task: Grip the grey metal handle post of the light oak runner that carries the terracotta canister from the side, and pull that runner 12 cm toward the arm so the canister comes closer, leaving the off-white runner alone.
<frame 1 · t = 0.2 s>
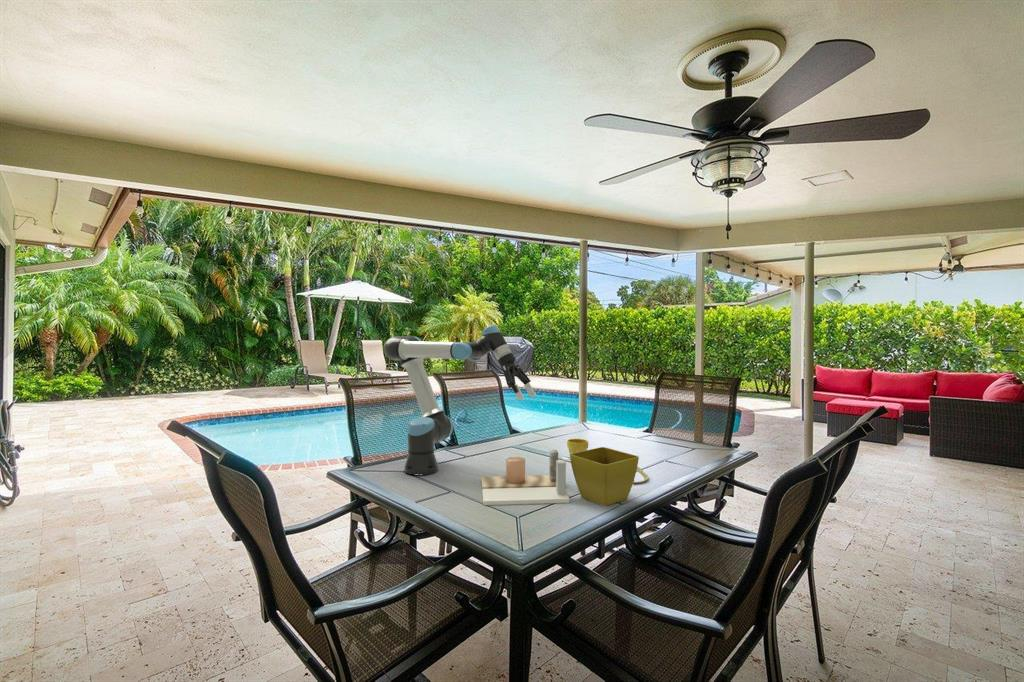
hand: (527, 397, 216), 35 cm above the table, tool tilted 35°, fingers open, 13 cm apart
white runner: (524, 480, 188), point 7 cm above the table, slide at 0.0 cm
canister: (515, 481, 204), point 2 cm above the table, touching oak runner
oak runner: (520, 468, 204), point 7 cm above the table, slide at 0.0 cm, touching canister
flower pot: (603, 499, 188), on the table
mug handle: (620, 474, 222), on the table
plant pot: (577, 460, 242), on the table
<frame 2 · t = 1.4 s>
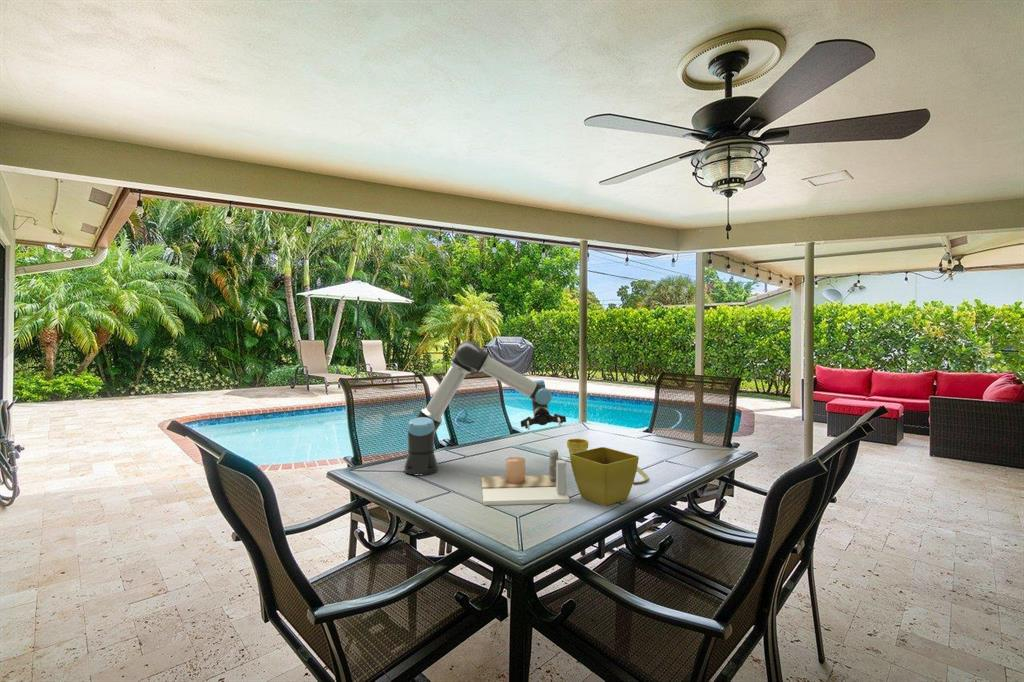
hand: (544, 425, 212), 23 cm above the table, tool horizontal, fingers open, 13 cm apart
nothing on the table moved.
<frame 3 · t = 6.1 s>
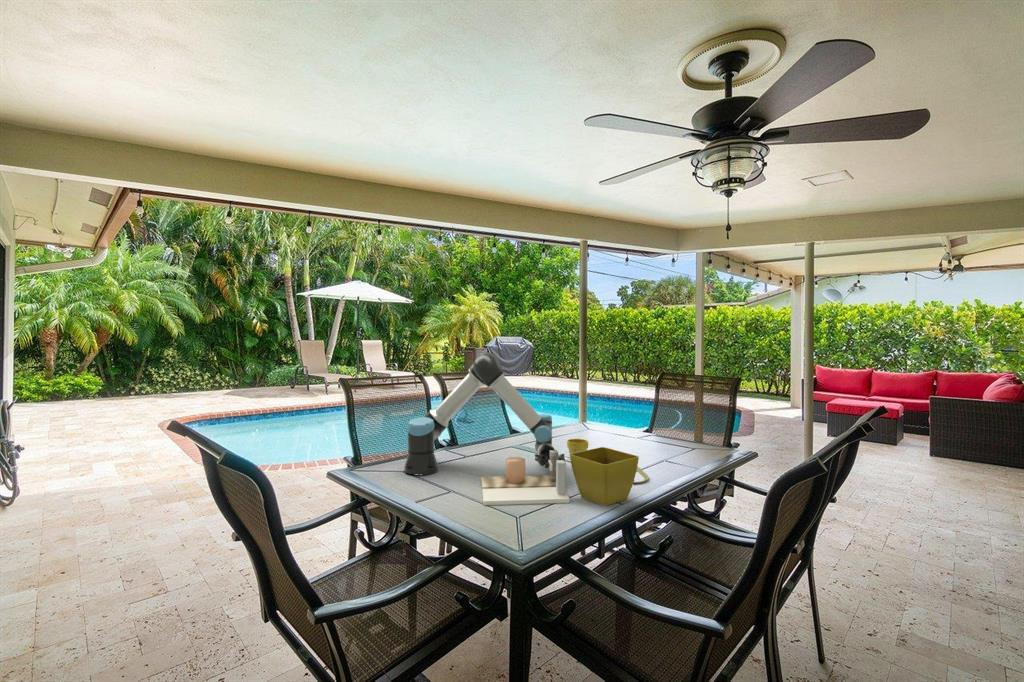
hand: (556, 467, 199), 8 cm above the table, tool horizontal, fingers closed on oak runner, 3 cm apart
oak runner: (520, 468, 204), point 7 cm above the table, slide at 0.0 cm, touching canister, gripper
everything else where it was.
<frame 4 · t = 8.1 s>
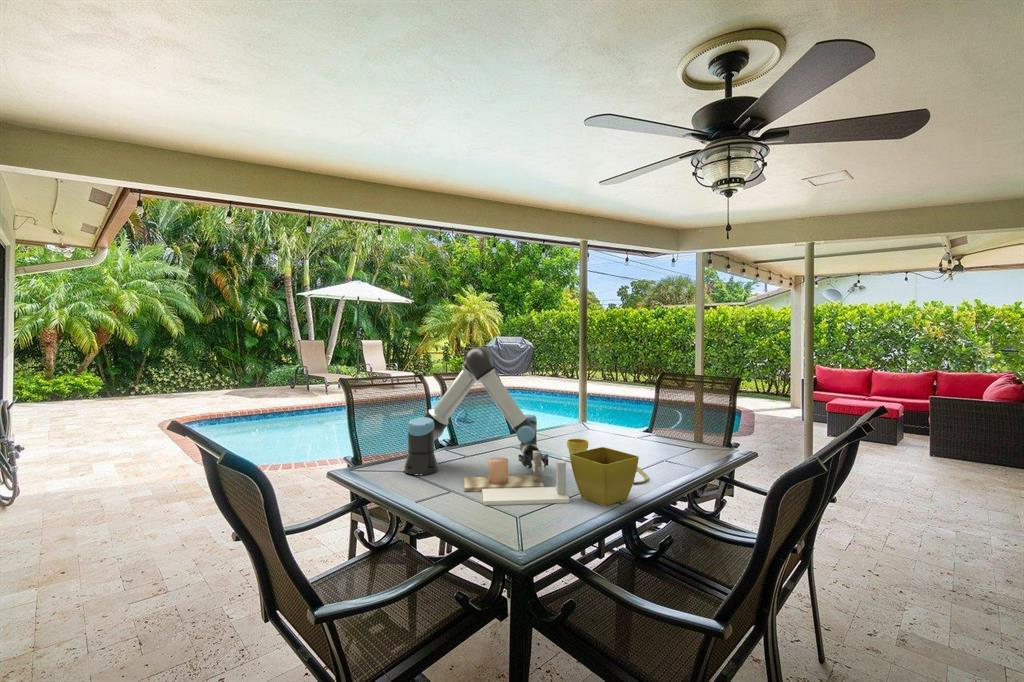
hand: (538, 467, 199), 8 cm above the table, tool horizontal, fingers closed on oak runner, 3 cm apart
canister: (498, 481, 203), point 2 cm above the table, touching oak runner
oak runner: (503, 468, 203), point 7 cm above the table, slide at 7.1 cm, touching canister, gripper
everything else where it was.
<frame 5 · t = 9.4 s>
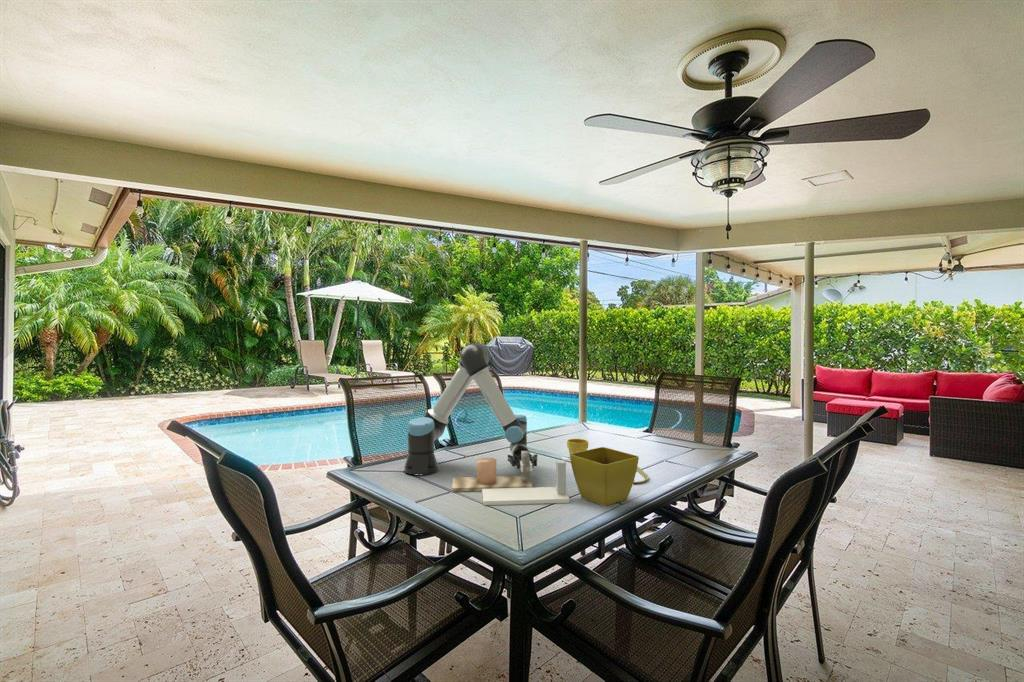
hand: (526, 468, 198), 8 cm above the table, tool horizontal, fingers closed on oak runner, 3 cm apart
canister: (486, 481, 203), point 2 cm above the table, touching oak runner
oak runner: (491, 468, 203), point 7 cm above the table, slide at 12.0 cm, touching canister, gripper
everything else where it was.
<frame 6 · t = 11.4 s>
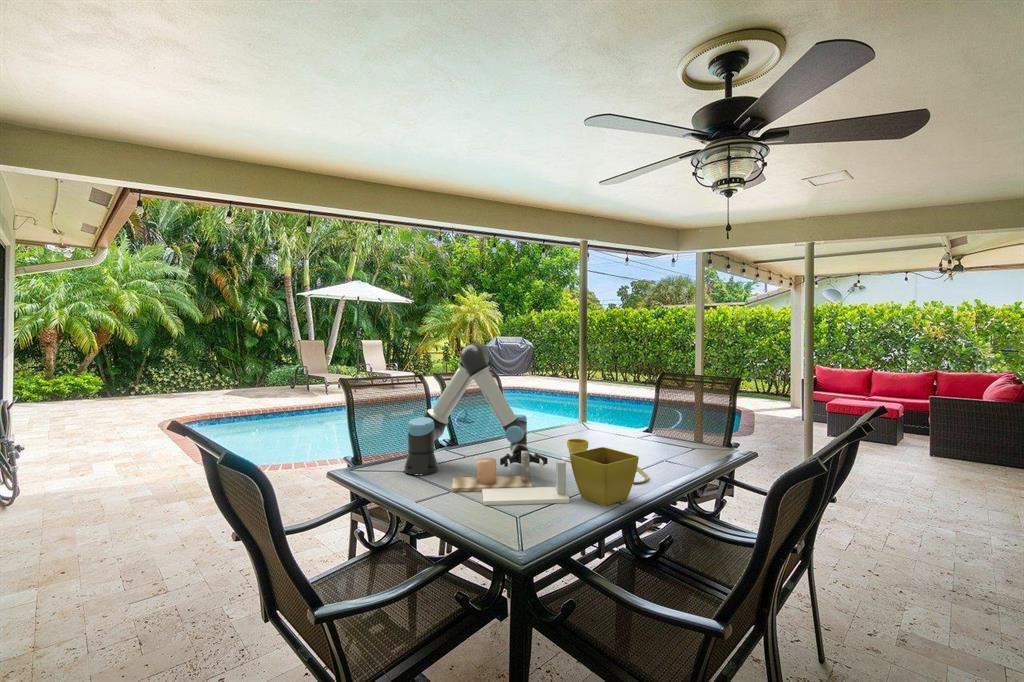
hand: (525, 466, 201), 9 cm above the table, tool horizontal, fingers open, 13 cm apart
oak runner: (491, 468, 203), point 7 cm above the table, slide at 12.0 cm, touching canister
everything else where it was.
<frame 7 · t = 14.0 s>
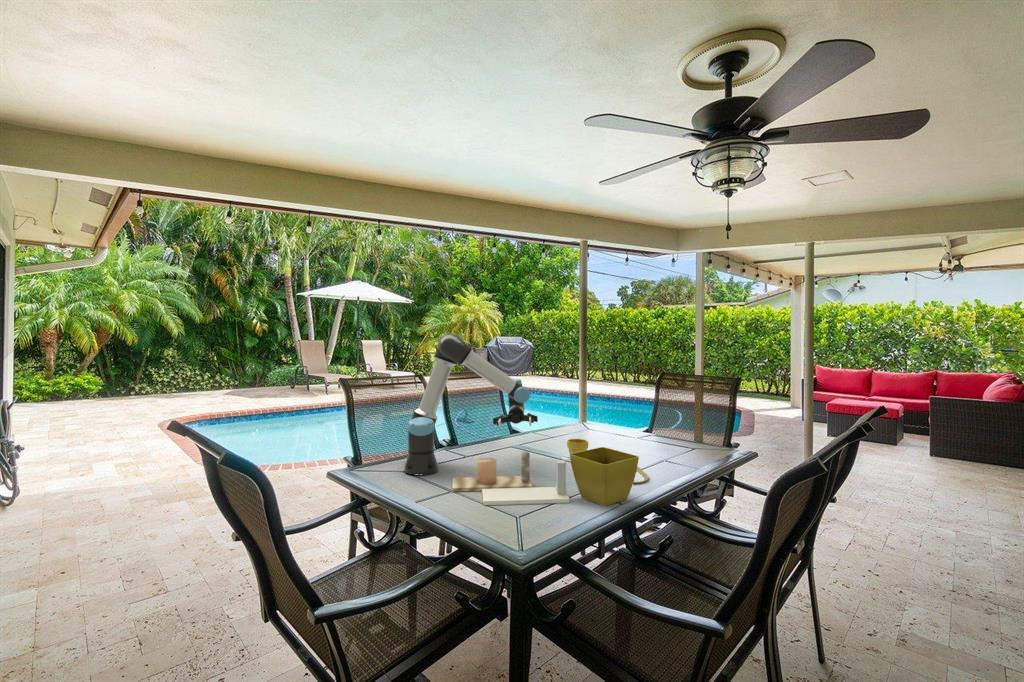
hand: (514, 423, 215), 23 cm above the table, tool horizontal, fingers open, 13 cm apart
nothing on the table moved.
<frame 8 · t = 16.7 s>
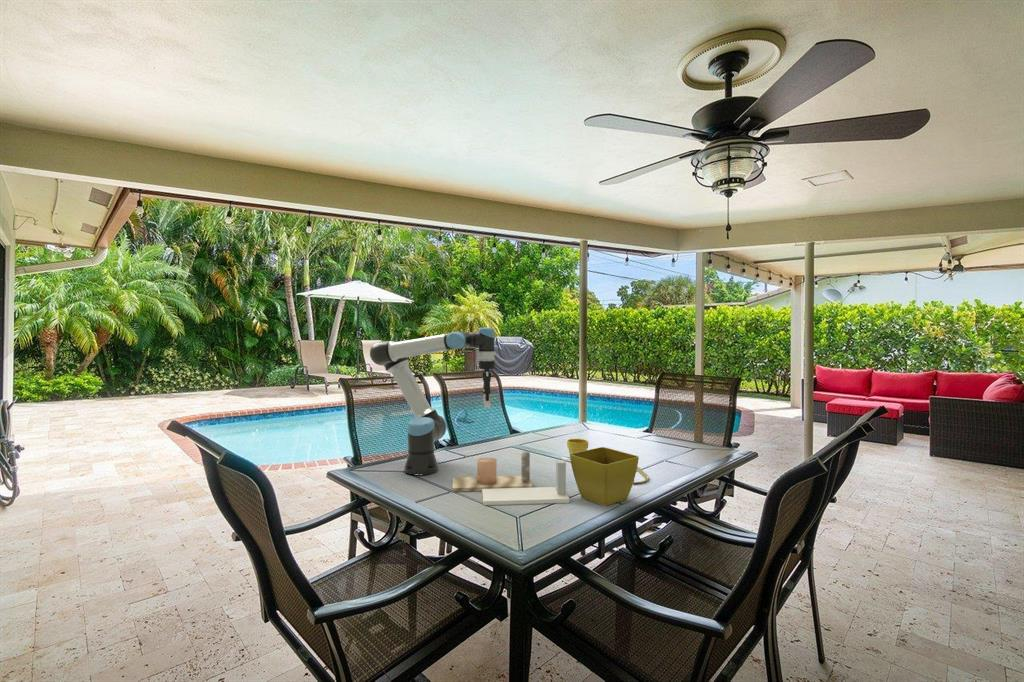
hand: (486, 405, 231), 29 cm above the table, tool pointing down, fingers open, 13 cm apart
nothing on the table moved.
at the end: oak runner slide at 11.9 cm; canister inside the target area (0.4 cm from its centre), point 1.7 cm above the table; white runner slide at 0.0 cm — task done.
